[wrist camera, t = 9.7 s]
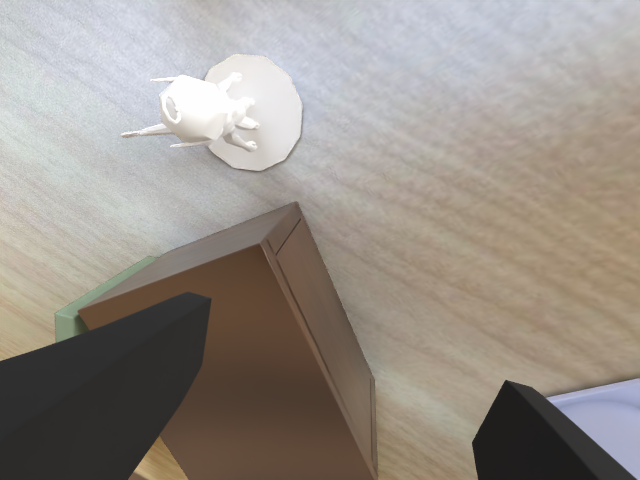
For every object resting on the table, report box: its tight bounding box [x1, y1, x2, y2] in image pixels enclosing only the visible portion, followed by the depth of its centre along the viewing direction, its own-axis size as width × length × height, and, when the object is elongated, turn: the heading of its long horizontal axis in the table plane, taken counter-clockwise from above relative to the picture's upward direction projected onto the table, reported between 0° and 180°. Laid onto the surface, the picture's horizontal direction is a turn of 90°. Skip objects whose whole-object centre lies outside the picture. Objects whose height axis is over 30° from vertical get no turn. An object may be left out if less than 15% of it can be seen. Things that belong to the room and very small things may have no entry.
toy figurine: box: [121, 54, 303, 171], centre depth 13 cm, size 5×8×7 cm, turn 100°
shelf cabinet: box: [77, 202, 378, 480], centre depth 17 cm, size 12×8×6 cm
